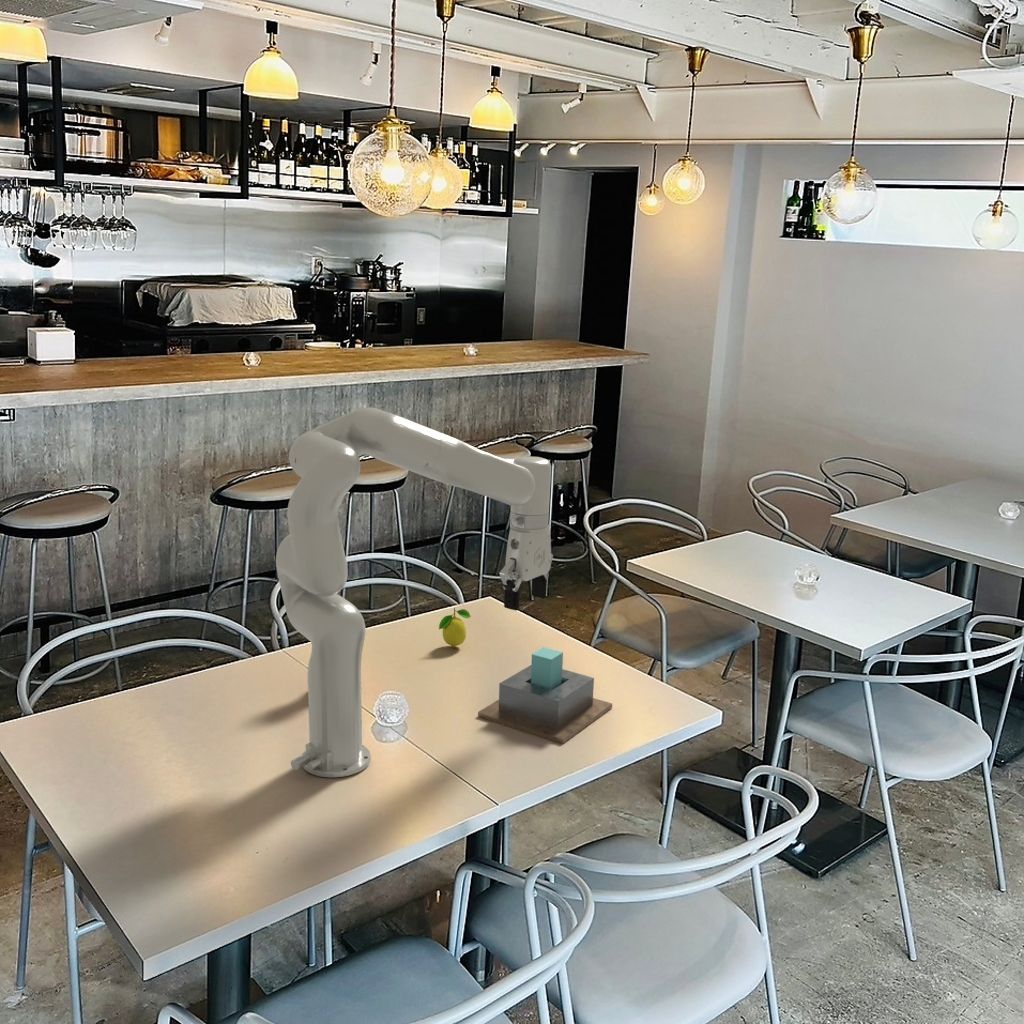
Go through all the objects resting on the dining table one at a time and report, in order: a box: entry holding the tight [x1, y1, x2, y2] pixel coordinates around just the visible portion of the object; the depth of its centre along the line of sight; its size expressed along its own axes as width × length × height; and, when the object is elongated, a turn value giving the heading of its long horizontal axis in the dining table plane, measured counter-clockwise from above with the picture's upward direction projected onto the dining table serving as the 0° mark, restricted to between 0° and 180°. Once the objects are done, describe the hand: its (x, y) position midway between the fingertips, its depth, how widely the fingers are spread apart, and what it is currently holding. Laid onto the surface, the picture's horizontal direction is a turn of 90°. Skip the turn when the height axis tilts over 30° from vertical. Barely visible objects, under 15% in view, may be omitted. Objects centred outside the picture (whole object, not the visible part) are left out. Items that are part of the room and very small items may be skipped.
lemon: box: [438, 607, 472, 648], centre depth 249 cm, size 7×6×10 cm
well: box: [477, 664, 613, 745], centre depth 217 cm, size 20×20×7 cm
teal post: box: [530, 646, 564, 690], centre depth 216 cm, size 5×5×12 cm
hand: (525, 602), depth 212 cm, fingers open, 9 cm apart
